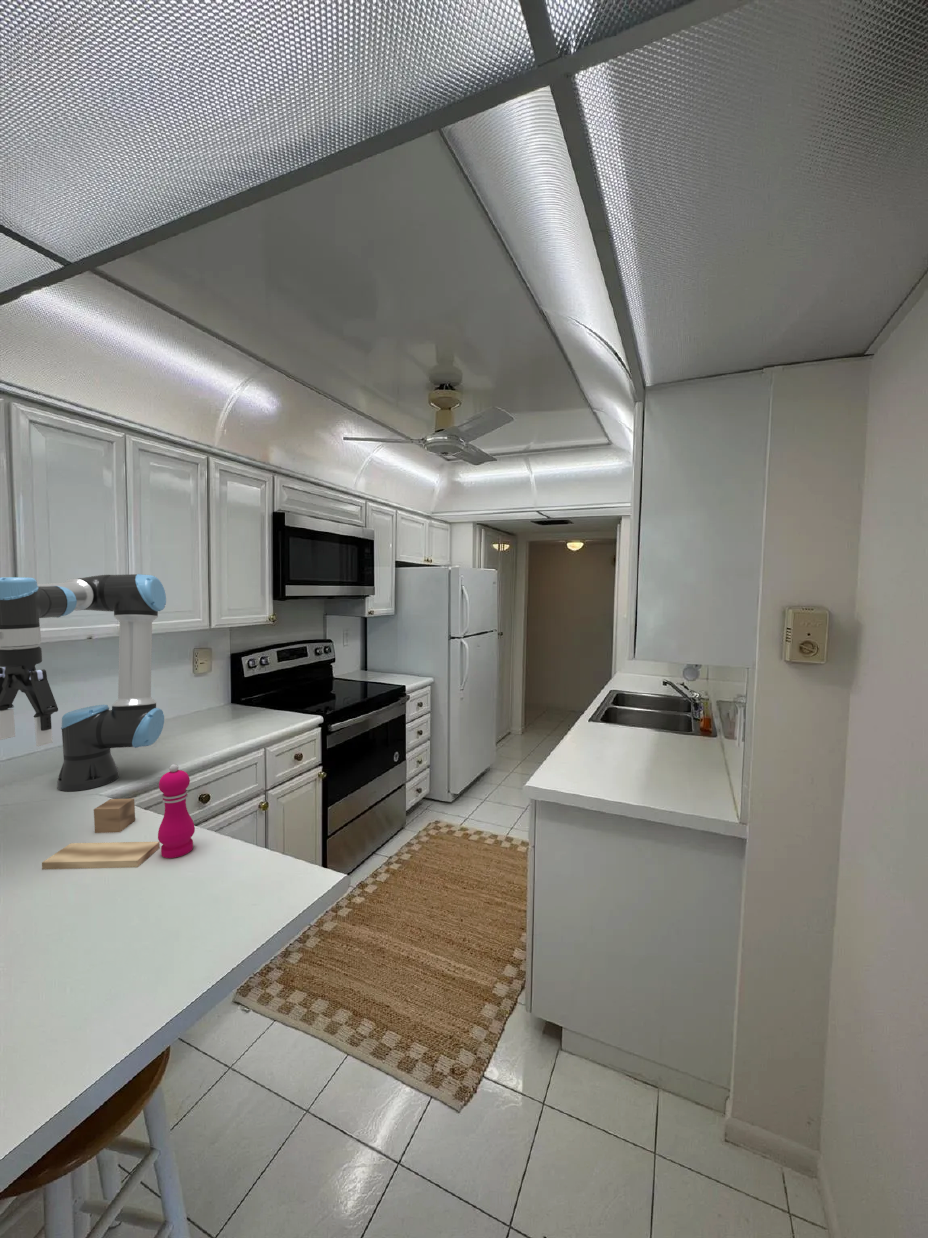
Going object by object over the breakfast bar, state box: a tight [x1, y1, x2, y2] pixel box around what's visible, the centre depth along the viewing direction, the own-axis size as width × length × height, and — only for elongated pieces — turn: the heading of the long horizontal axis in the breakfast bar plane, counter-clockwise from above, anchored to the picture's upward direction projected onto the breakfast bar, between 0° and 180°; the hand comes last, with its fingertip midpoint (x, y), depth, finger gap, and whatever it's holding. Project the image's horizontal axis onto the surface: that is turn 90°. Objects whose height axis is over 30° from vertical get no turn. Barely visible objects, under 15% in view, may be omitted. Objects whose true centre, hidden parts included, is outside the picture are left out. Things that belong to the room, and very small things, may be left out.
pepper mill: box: [157, 763, 196, 859], centre depth 111 cm, size 7×7×20 cm
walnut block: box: [93, 797, 136, 834], centre depth 124 cm, size 6×6×6 cm
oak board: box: [41, 841, 161, 870], centre depth 109 cm, size 8×20×2 cm, turn 91°
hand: (25, 741), depth 111 cm, fingers open, 13 cm apart
